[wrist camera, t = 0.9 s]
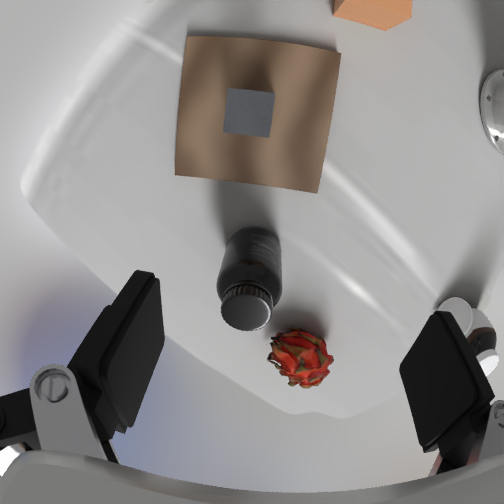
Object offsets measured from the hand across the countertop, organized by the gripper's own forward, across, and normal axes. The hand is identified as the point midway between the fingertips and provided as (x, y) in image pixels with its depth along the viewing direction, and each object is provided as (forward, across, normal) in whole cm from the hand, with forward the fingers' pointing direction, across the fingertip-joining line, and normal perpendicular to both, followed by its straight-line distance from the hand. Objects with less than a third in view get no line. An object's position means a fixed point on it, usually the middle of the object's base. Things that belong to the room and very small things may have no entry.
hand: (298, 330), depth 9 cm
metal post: (+24, +4, -5) cm, 25 cm away
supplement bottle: (+26, +2, +12) cm, 28 cm away
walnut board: (+26, +4, -5) cm, 27 cm away
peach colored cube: (+26, -6, -21) cm, 34 cm away
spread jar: (+26, -34, +20) cm, 47 cm away
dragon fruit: (+26, -7, +27) cm, 38 cm away
